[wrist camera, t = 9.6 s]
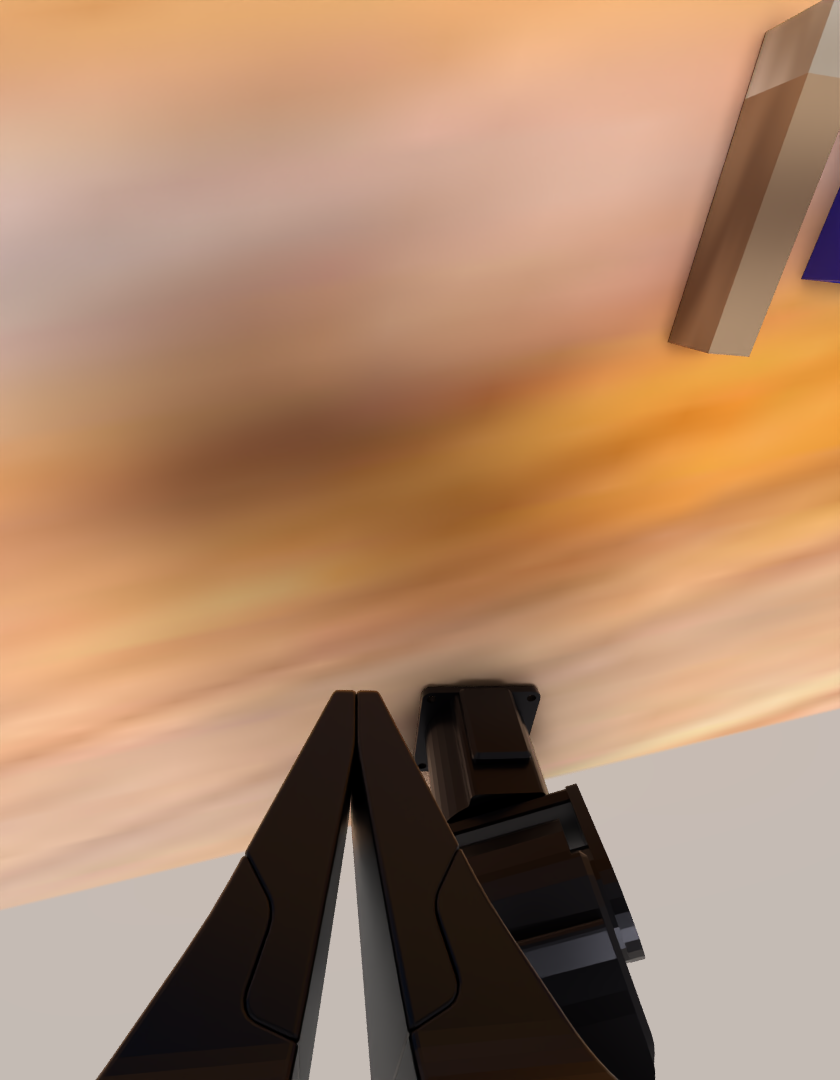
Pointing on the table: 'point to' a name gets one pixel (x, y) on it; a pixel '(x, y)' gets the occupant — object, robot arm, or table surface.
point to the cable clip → (827, 249)
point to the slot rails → (765, 184)
